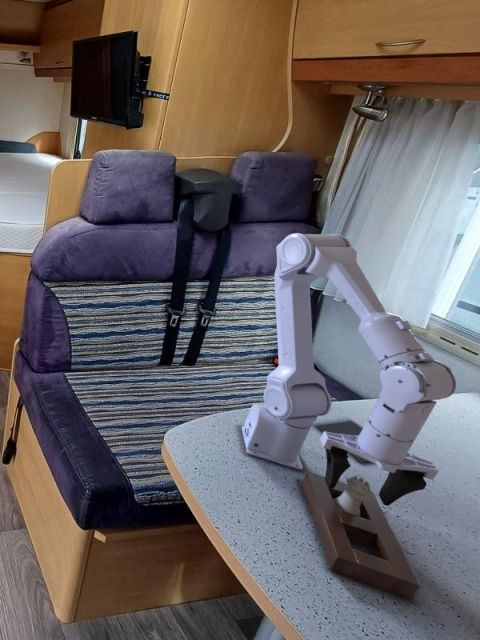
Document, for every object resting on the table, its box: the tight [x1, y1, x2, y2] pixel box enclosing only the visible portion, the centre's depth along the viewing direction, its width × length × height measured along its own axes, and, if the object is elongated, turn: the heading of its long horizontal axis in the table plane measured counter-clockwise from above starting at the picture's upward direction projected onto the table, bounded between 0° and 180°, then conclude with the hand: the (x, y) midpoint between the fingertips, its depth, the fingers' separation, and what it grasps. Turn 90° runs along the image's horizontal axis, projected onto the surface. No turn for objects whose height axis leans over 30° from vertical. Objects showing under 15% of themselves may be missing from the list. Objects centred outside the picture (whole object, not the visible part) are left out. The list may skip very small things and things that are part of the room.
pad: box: [315, 420, 370, 464], centre depth 96 cm, size 10×10×1 cm
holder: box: [300, 471, 421, 600], centre depth 75 cm, size 10×17×3 cm, turn 158°
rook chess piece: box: [333, 474, 372, 517], centre depth 78 cm, size 4×4×8 cm
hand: (355, 492), depth 77 cm, fingers open, 7 cm apart
